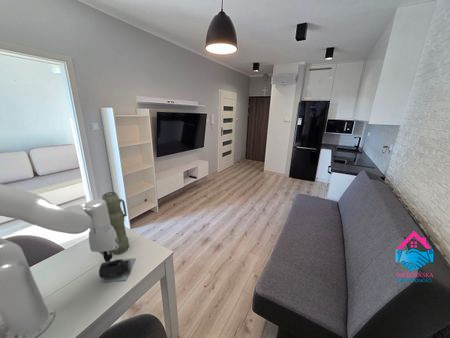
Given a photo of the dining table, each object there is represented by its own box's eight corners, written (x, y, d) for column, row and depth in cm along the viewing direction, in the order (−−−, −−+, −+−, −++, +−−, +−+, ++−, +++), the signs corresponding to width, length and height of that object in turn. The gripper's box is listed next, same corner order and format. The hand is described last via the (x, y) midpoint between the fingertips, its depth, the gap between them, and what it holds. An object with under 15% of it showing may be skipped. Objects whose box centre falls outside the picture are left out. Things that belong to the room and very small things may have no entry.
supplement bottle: (105, 273, 89) (131, 268, 92) (99, 282, 82) (128, 276, 85) (104, 259, 89) (130, 255, 92) (98, 267, 82) (127, 262, 85)
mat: (126, 280, 85) (125, 280, 85) (103, 282, 84) (102, 282, 83) (135, 258, 97) (135, 258, 97) (115, 260, 96) (115, 259, 96)
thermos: (106, 249, 102) (93, 194, 91) (129, 240, 110) (119, 187, 99) (110, 259, 96) (97, 201, 85) (134, 247, 104) (124, 193, 93)
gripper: (76, 233, 75) (86, 267, 81) (115, 231, 76) (122, 264, 82) (87, 222, 82) (96, 254, 88) (122, 220, 83) (128, 252, 89)
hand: (108, 259), depth 85 cm, fingers closed
